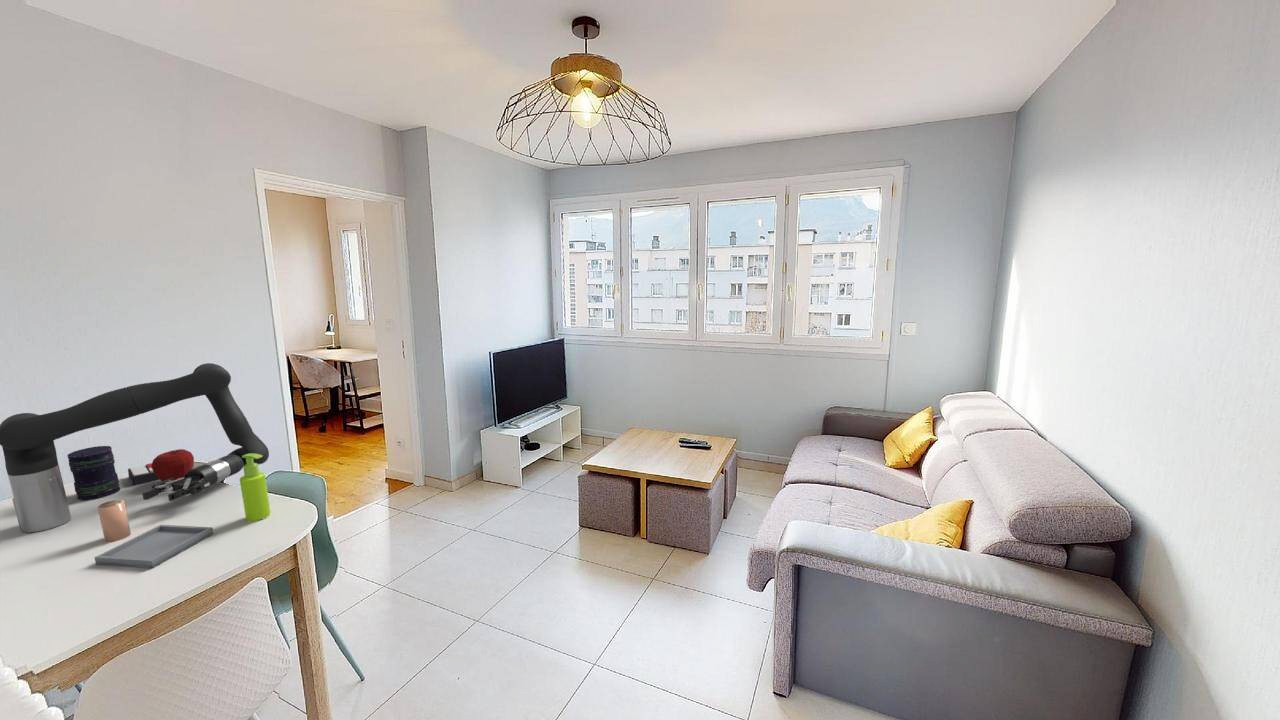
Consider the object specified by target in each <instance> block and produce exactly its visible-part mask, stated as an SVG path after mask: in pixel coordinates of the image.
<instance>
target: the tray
mask: <svg viewBox="0 0 1280 720" xmlns="http://www.w3.org/2000/svg"><path fill="white" fill-rule="evenodd" d="M214 534H215V533H214V529H213V527H211V526H210V527H208V526H195V525H194V526H193V525H191V526H190V525H174V524H171V525H170V524H159V525H157V526H155V527H154V528H152V529H150V530H147V531H145V532H143V533H141V534H138V535H137V536H135V537H133V538H130V539H129V540H127V541H125V542H123V543H120V544H119V545H117V546H115V547H113V548H110V549H109V550H107V551H104V552H103V553H100V554H98V555H97V556H94V562H95V565H96V566H97V565H98V566H115V567H129V568H131V567H133V568H143V569H144V568H146V569H155V568H157V567H158V566H159V565H161V564H163V563H165V562H167V561H168V560H170V559H172V558H174V557H176V556H177V555H179V554H181V553H182V552H185V551H186V550H188V549H189V548H191V547H193V546H195V545H197V544H198V543H200V542H202V541H204V540H206V539H207V538H209V537H211V536H213V535H214Z"/></svg>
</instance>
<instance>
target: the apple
mask: <svg viewBox="0 0 1280 720" xmlns="http://www.w3.org/2000/svg"><path fill="white" fill-rule="evenodd" d="M151 463H152V466H151V467H152V470H153V472H154V474H155V475H156V476H157V477H158V478H159V479H160V481H161V482H162V481H165V480H167V479H170V478H174V480H177V479H179V478H184V476H185V475H186V473H187V472H188V471H189V470H191V469H194V463H195V457H194V455H193V453H192V451H191V452H190V451H189V450H186V449H183V448H179V449H174V450H169V451H167V452H163V453H160V454H158V455H157V456H155V458H153V459H152V462H151Z"/></svg>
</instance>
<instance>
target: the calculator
mask: <svg viewBox="0 0 1280 720" xmlns="http://www.w3.org/2000/svg"><path fill="white" fill-rule="evenodd" d="M151 466H152V462H151V463H147V464H145V465H144V464H143V465H142V464H141V465H137V466H133V467H130V468H128V469H127V472H128V479H129V480H130V482H131V484H132V486H133V487H135V486H139V485H140V486H141V485H144V484H147V483H151V482H154V481H157V480H158V481H159V480H160V479H159V478H158V477H157V476H156V475H155V474H154V472H153V470H152V467H151ZM160 481H161V480H160Z"/></svg>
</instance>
